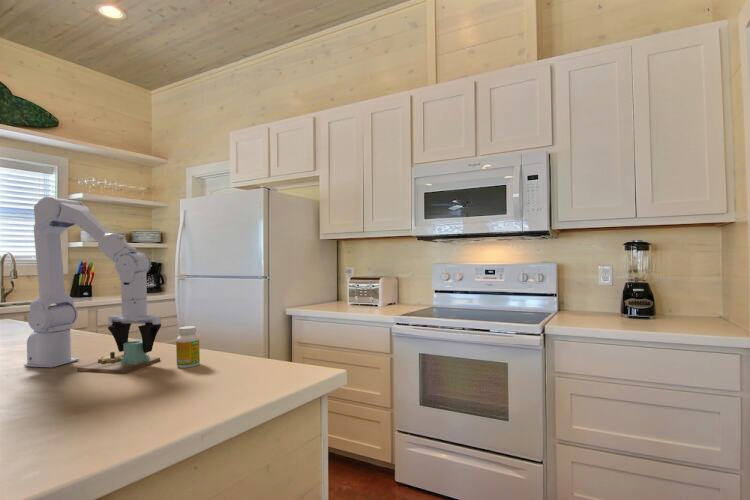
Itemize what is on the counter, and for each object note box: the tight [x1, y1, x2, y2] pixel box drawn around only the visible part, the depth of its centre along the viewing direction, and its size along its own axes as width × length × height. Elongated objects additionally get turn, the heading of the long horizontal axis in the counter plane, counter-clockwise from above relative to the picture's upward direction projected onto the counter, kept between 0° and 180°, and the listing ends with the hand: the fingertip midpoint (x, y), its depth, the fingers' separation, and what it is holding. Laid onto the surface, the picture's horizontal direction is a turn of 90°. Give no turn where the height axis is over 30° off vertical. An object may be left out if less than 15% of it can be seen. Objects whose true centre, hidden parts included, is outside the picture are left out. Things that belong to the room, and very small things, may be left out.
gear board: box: [76, 351, 161, 374], centre depth 109 cm, size 14×12×4 cm
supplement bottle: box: [175, 325, 201, 369], centre depth 108 cm, size 5×5×10 cm
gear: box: [121, 339, 150, 365], centre depth 109 cm, size 7×7×5 cm
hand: (135, 351), depth 110 cm, fingers open, 7 cm apart
